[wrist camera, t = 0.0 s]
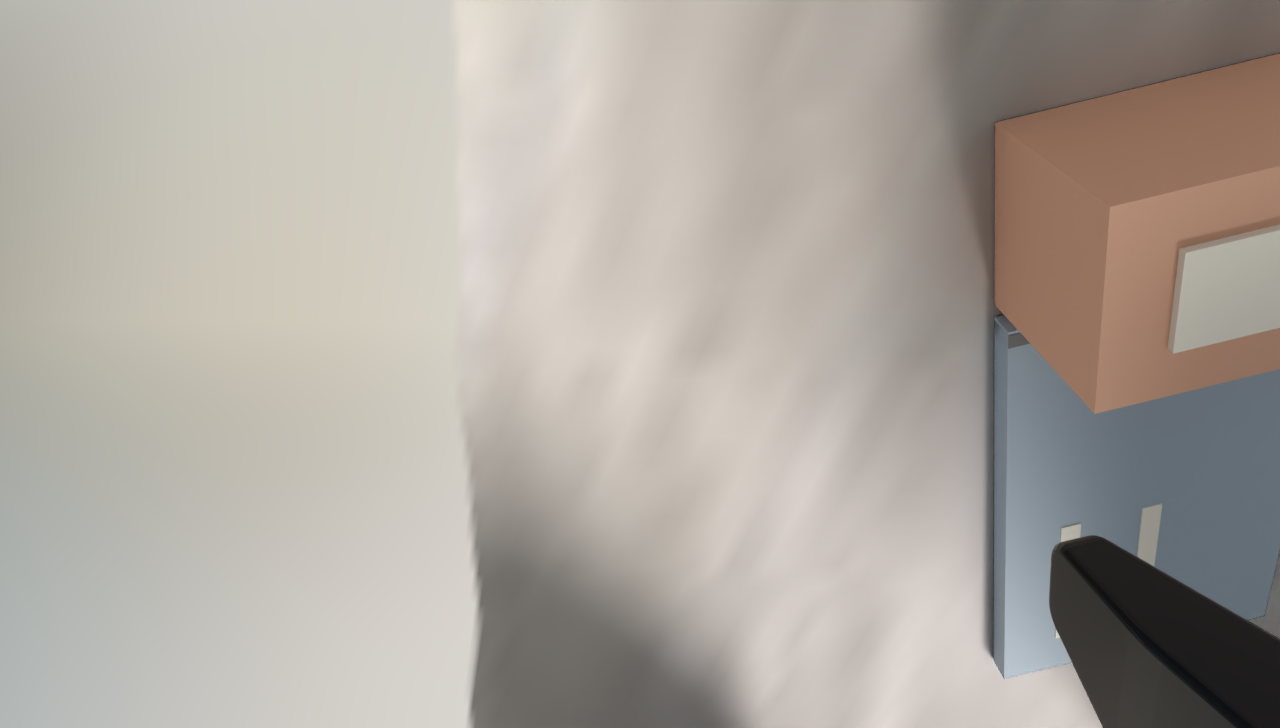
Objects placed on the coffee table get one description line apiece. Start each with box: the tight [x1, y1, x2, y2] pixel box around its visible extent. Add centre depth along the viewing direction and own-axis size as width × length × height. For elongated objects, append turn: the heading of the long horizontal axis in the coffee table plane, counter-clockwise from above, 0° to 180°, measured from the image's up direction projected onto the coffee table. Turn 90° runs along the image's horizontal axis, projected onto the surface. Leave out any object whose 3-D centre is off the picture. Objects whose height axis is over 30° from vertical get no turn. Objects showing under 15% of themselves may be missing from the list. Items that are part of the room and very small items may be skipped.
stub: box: [995, 53, 1280, 414], centre depth 22 cm, size 5×9×5 cm, turn 101°
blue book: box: [994, 315, 1280, 679], centre depth 29 cm, size 14×9×1 cm, turn 11°
